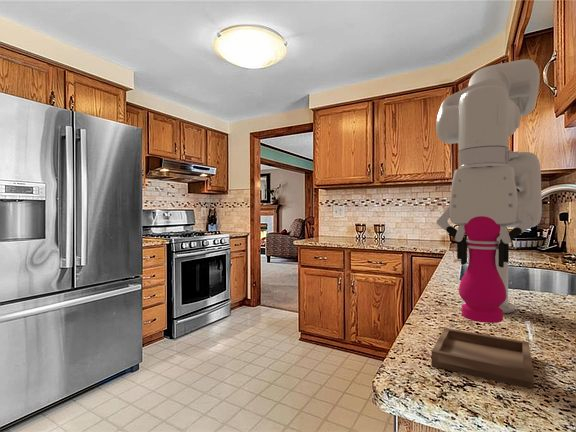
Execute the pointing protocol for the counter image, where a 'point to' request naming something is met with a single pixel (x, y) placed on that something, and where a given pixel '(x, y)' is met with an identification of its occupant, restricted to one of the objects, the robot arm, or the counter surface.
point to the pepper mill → (482, 273)
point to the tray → (484, 357)
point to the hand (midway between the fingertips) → (482, 263)
